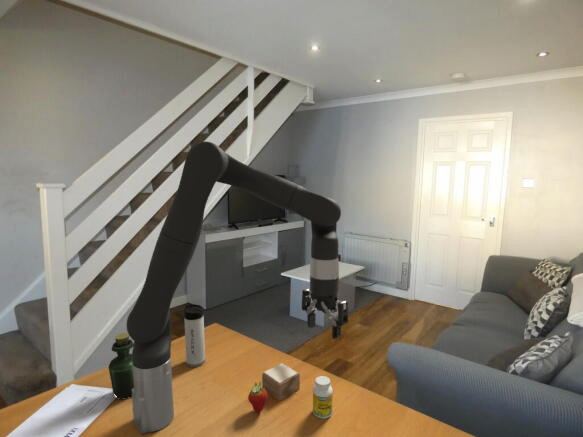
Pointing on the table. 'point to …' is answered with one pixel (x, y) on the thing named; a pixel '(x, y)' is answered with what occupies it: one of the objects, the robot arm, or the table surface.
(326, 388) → the supplement bottle
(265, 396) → the fruit
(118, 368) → the potion bottle
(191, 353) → the travel mug
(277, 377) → the wooden block
